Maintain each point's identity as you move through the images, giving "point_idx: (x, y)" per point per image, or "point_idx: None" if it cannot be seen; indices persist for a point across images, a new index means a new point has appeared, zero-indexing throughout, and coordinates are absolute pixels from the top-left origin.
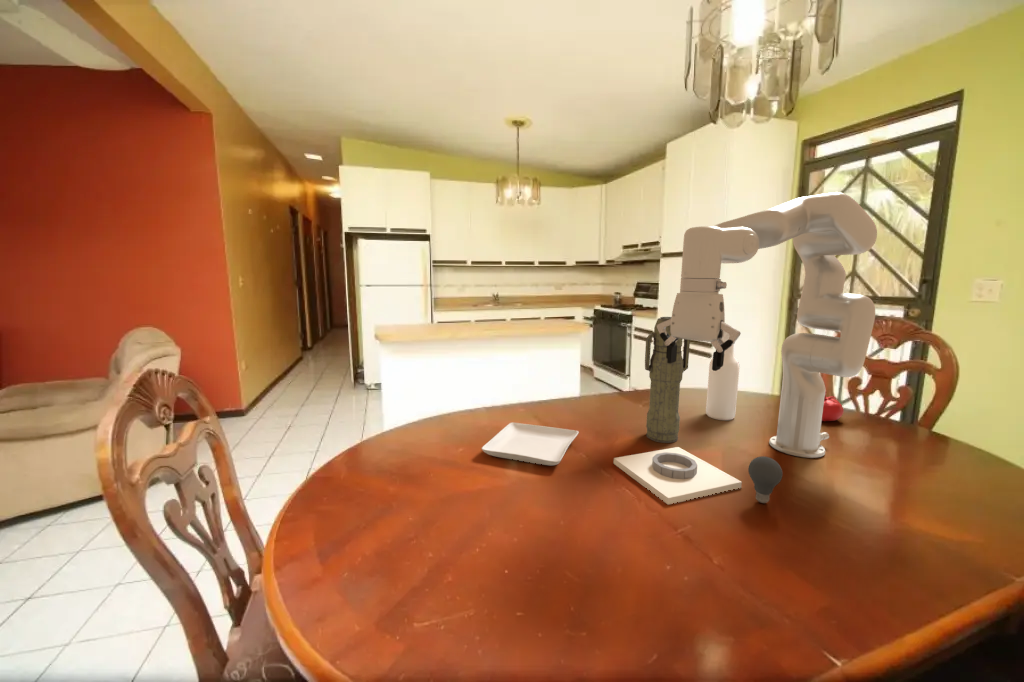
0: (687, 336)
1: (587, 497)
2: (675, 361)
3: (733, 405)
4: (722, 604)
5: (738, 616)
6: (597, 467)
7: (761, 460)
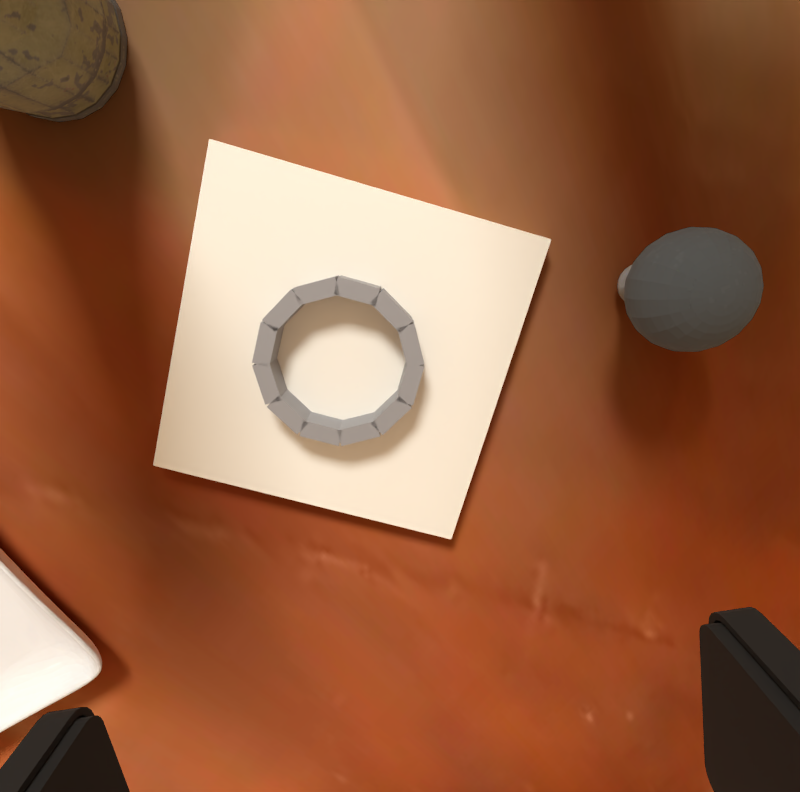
0: None
1: (289, 667)
2: (102, 728)
3: None
4: None
5: None
6: (156, 521)
7: (708, 323)
